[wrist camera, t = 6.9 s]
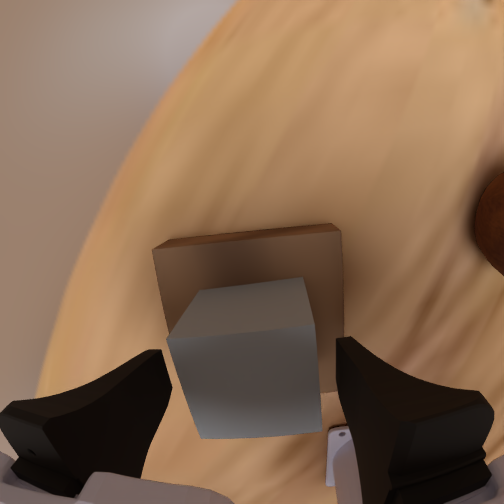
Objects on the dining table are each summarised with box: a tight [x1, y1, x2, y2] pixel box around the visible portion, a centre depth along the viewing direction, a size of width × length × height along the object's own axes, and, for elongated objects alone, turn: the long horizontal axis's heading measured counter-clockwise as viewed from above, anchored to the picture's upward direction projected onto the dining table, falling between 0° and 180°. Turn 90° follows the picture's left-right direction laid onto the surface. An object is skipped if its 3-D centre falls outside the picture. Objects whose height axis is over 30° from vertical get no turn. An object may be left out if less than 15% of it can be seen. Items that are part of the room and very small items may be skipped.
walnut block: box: [152, 223, 344, 393], centre depth 17 cm, size 9×9×3 cm
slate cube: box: [166, 277, 322, 439], centre depth 13 cm, size 5×5×5 cm
